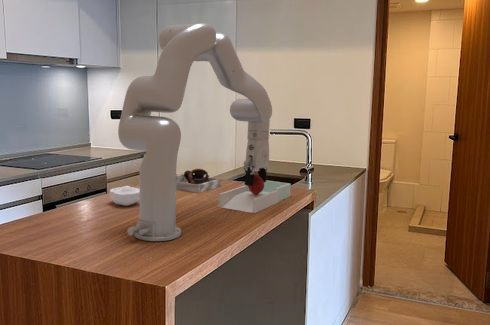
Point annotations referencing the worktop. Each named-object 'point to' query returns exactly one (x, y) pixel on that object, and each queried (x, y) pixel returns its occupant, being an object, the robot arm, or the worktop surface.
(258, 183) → the red round fruit
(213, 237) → the worktop surface
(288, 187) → the tray
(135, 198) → the cell model
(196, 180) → the pottery mug
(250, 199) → the white piece
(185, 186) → the mug stand
